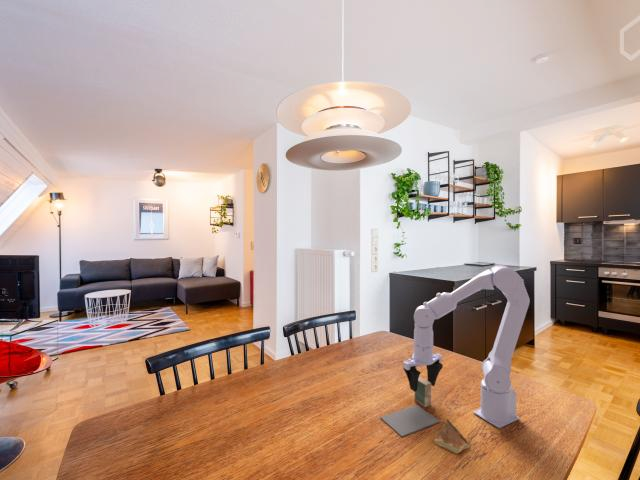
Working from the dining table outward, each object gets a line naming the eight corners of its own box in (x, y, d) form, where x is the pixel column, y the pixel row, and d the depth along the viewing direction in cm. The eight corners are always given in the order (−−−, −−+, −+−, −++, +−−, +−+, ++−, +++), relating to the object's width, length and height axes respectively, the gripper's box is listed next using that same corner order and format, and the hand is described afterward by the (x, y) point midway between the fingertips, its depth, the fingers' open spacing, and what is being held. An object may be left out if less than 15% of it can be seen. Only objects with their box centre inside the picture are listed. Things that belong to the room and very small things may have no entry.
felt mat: (416, 405, 94) (416, 404, 94) (440, 421, 86) (440, 420, 86) (380, 418, 88) (380, 417, 88) (401, 437, 80) (402, 435, 80)
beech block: (420, 398, 98) (420, 376, 98) (430, 405, 94) (431, 383, 94) (414, 399, 97) (414, 378, 97) (425, 407, 93) (425, 384, 93)
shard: (447, 424, 86) (447, 417, 86) (476, 436, 81) (476, 429, 81) (432, 444, 78) (432, 437, 78) (464, 459, 73) (464, 451, 73)
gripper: (430, 337, 102) (429, 376, 103) (396, 344, 96) (396, 386, 96) (447, 344, 96) (446, 386, 96) (413, 352, 89) (412, 397, 90)
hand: (422, 387), depth 96 cm, fingers open, 7 cm apart
